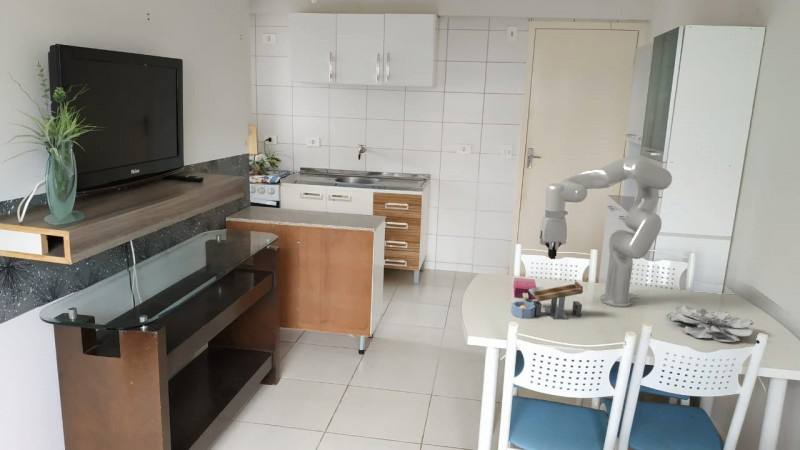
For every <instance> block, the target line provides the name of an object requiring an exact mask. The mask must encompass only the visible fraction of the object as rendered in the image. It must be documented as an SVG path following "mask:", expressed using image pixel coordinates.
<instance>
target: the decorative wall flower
mask: <svg viewBox="0 0 800 450" xmlns="http://www.w3.org/2000/svg"><path fill="white" fill-rule="evenodd" d="M676 312H678V313H673V312H670V313H668V314H667V315H666V314H665V315H666V317H667V318H668V319H670V321H671V322H680V323H686V324H689V325H695V327H692V326H687V325H685V327H684V328H683V333H685V334H690V336H692V337H694V338H696V339H713V340H715V341H718V342H721V343H735V342H740V341H741V340H740V338H739V337H743V338H745V337H750V336H751V335H752V334H754V330H753V329H750V328H749V326H752V325H755V322H754V321H753V320H751V319H749V318H742V317H741V318H740V317H737V316H733V317H732V316H730V312H727V311H720V310H718V311H712V312H710V311H708V310H707V309H704V308H703V309H699V310H698V309H695V308H694V309H693V308H691V307H688V306H687V305H684V304H683V305H681V306H679V307H676Z"/></svg>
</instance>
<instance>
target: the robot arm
mask: <svg viewBox="0 0 800 450" xmlns="http://www.w3.org/2000/svg"><path fill="white" fill-rule="evenodd" d="M628 179H630V180H631V179H632V180H635V181H636V182H635V183H636V185H637V195H636V197H635V200H634V201H633V203H632V205H631V207H630V209H629V211H628V212H627V214H626V216H625V218H624V225H625V226H626V227H627V228H629V229H630V230H632V231H634V232H635V233H633V232H631V231H629V230H625V229H624V230H623V229H620V230H616V231H614V232H613V233H611V235H610V237H609V239H608V241H609V242H608V243H609V244H608V246H609V247H608V248H609V260H608V267H607V274H606V281H605V290H604V295H601V296H600V302H602V303H603V304H606V305H609V306H612V307H619V308H627V307H630V306H631V305H632V300H639V299H640V295H639V294H634V293H632V292H631V293H630V285H631V279H632V273H633V272H632V271H633V265H634V264H633V263H634V262H633V261H634V259H635V260H639V259H642V258H644V257H645V256H646V255H647V254H648V252H649V250H650V249H651V248H652V246H653V244H654V242H655V241H656V239H657V238H658V236H659V234H660V232H661V229H662V223H663V222H662V219H661V217H660V216H659V214H657V213H655V212H654V211H655V209H656V207H657V205H658V202H659V197H660V196H659V190H660V191H661V190H662V191H663V190H666V189H668V188H669V187H670V185H671V184H672V181H673V175H672V173H671V172H670V171H669V170H668V169H666V168H663V167H662V166H660V165H657V164H655V163H652V162H650V161H648V160H645V159H642V158H637V157H634V156H633V157H632V156H626V157H622V158H619V159H617V160H615V161H613V162H610V163H609V164H607V165H604V166H602V167H600V168H596V169H592V170H588V171H584V172H581V173H576V174H574V175H570V176H569V177H567V178H565V179H563V180H561V181H560V182H559V183H556V182H555V183H549V184H547V186H546V192H545V194H546V195H545V208H544V209H545V210H544V211H545V212H544V213H545V214H544V216H542V218H541V222H540V223H541V224H540V229H539V239H540V241H539V244H540V245H542V246H546V248H548V249H547V250H548V251H547V256H548V258H550V260H555V259H556V257H557V252H558V249H559V248H560V247H561V246H563V245H565V244H567V237H568V227H567V219H566V216H567V215H568V214H569V212H568V211H566V203H582V202H583V201H585V200H586V198H587V196H588V190H590V189H591V190H592V189H593V190H594V189H596V190H597V189H599V190H601V189H607V188H608V189H609V188H610V187H612V186H614V185H616V184H619V183H621V182H623V181H625V180H628Z"/></svg>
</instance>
